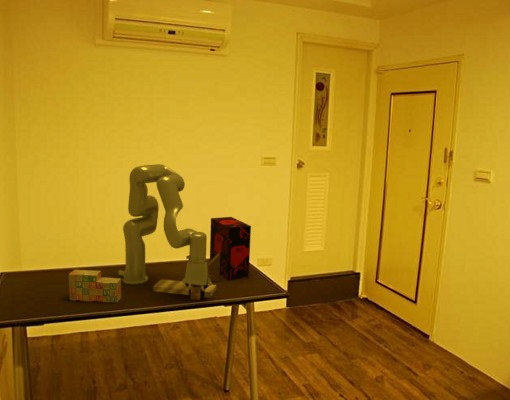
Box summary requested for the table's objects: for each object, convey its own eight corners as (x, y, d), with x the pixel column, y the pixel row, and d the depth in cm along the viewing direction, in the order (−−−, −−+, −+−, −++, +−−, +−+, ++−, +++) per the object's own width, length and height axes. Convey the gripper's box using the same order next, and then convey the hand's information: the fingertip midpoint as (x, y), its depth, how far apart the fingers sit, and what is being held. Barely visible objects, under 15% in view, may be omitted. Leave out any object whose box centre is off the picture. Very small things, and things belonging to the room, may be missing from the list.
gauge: (190, 299, 203) (190, 286, 202) (199, 288, 217) (199, 276, 216) (199, 300, 202) (200, 287, 201) (208, 289, 216) (208, 277, 215)
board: (153, 291, 211) (153, 286, 210) (161, 283, 220) (161, 279, 220) (210, 297, 206) (211, 292, 206) (216, 289, 216) (216, 285, 216)
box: (209, 267, 249) (210, 218, 244) (229, 264, 255) (231, 216, 250) (227, 280, 229) (229, 227, 224) (248, 277, 235) (250, 225, 230)
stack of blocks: (121, 297, 202) (121, 271, 199) (116, 303, 195) (116, 276, 193) (75, 294, 203) (74, 269, 200) (69, 300, 196) (68, 273, 194)
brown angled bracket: (219, 281, 227) (220, 247, 224) (198, 282, 225) (198, 248, 222) (218, 279, 231) (219, 245, 228) (197, 279, 228) (198, 245, 225)
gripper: (177, 259, 199) (176, 298, 202) (213, 263, 197) (212, 302, 200) (182, 255, 207) (181, 292, 210) (217, 258, 204) (216, 296, 207)
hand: (196, 296), depth 205 cm, fingers closed on gauge, 4 cm apart
